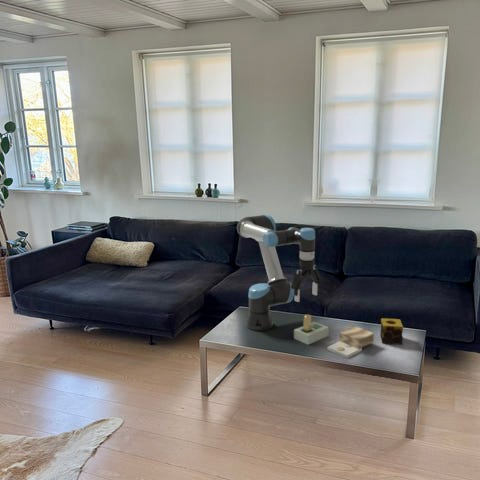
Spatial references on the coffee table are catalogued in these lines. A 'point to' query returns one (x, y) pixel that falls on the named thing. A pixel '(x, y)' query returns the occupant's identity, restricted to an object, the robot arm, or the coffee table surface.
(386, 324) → the candle
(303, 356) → the coffee table surface
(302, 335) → the socket board
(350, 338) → the tan layered block
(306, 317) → the peg
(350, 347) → the board
